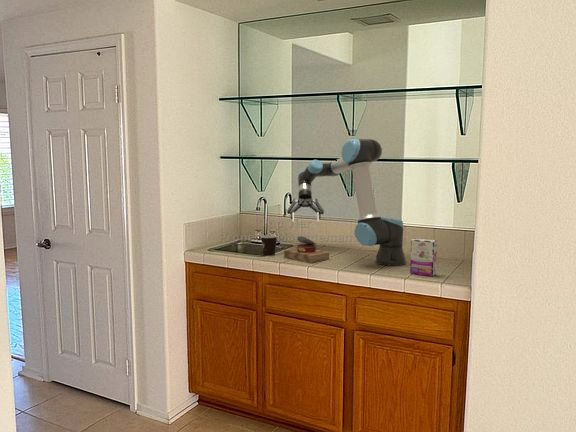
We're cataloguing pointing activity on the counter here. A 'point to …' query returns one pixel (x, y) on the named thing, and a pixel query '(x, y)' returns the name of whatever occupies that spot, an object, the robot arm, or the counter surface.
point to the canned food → (306, 245)
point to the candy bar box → (423, 257)
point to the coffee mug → (269, 245)
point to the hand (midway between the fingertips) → (305, 223)
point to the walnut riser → (306, 256)
